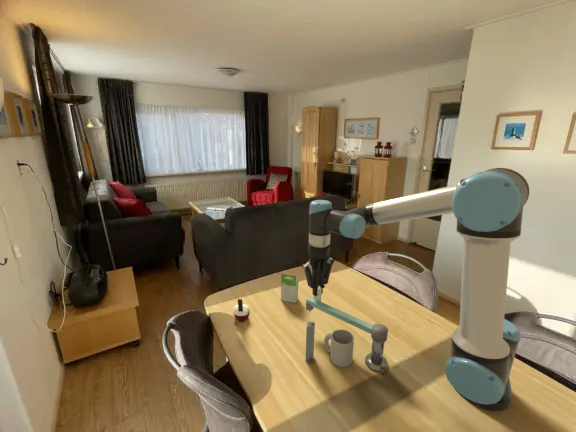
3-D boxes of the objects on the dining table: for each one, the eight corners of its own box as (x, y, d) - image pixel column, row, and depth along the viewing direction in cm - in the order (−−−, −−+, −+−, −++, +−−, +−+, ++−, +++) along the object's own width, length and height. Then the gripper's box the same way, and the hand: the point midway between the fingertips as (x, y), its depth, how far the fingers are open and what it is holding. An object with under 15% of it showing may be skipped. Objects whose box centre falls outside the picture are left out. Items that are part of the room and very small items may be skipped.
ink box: (298, 298, 128) (298, 271, 124) (295, 303, 124) (296, 276, 121) (283, 295, 130) (283, 269, 126) (280, 300, 126) (280, 273, 123)
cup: (347, 371, 89) (349, 348, 86) (318, 358, 94) (319, 335, 91) (355, 356, 95) (357, 334, 92) (328, 345, 100) (329, 323, 97)
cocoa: (239, 312, 118) (238, 286, 116) (253, 314, 117) (252, 288, 114) (229, 326, 109) (226, 298, 107) (243, 328, 108) (242, 300, 105)
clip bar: (388, 341, 90) (390, 328, 89) (382, 349, 86) (384, 336, 85) (311, 305, 109) (311, 293, 107) (303, 310, 105) (304, 299, 104)
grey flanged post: (391, 364, 92) (394, 339, 89) (379, 375, 87) (382, 350, 85) (372, 351, 97) (375, 328, 94) (360, 362, 92) (363, 337, 90)
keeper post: (313, 357, 94) (314, 322, 91) (312, 362, 92) (314, 327, 88) (306, 356, 95) (307, 321, 91) (305, 361, 93) (306, 326, 89)
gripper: (327, 237, 106) (325, 292, 113) (298, 243, 100) (297, 302, 106) (340, 243, 100) (337, 302, 106) (309, 251, 93) (308, 312, 100)
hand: (317, 302), depth 106 cm, fingers closed
